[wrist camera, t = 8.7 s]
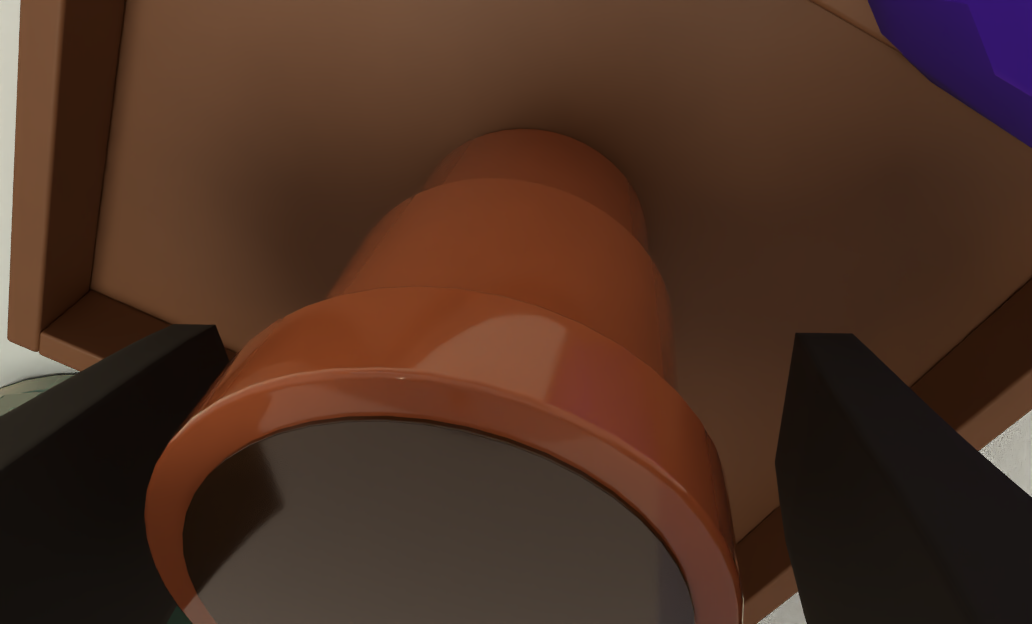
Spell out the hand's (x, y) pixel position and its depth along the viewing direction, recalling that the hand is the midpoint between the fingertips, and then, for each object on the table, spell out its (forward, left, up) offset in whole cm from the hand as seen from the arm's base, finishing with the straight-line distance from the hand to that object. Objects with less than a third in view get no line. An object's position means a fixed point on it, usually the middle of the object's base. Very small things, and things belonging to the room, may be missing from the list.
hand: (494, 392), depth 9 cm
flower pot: (0, 0, -4) cm, 4 cm away
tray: (0, 0, -4) cm, 4 cm away
